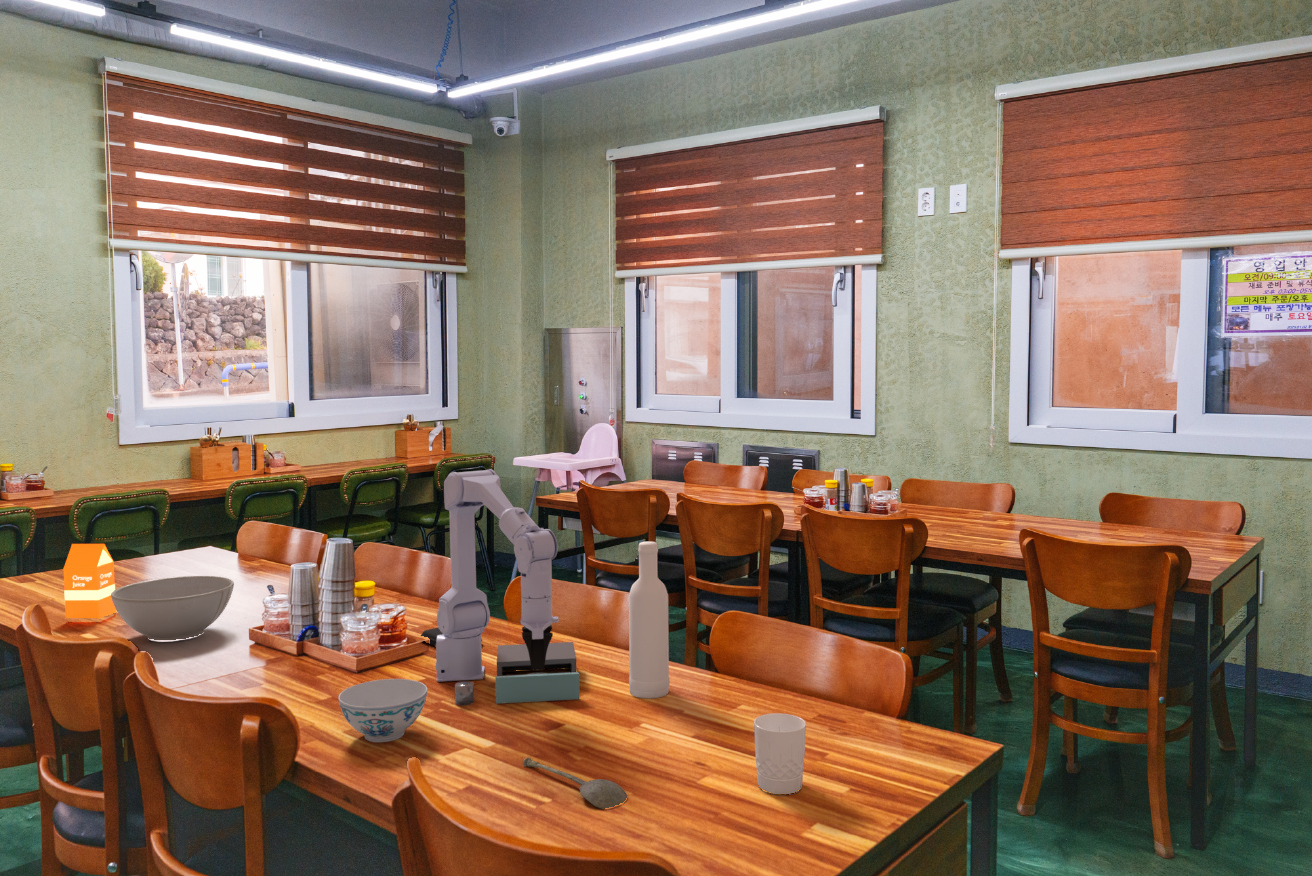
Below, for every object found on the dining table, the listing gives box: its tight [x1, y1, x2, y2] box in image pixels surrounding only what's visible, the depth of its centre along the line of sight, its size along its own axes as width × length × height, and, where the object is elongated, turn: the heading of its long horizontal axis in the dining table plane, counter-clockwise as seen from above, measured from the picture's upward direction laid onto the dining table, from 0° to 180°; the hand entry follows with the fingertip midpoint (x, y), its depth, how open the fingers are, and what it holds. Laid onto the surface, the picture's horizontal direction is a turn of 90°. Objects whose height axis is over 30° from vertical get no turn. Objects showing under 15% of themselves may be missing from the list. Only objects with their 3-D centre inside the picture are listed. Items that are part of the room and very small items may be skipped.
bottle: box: [628, 541, 670, 699], centre depth 188 cm, size 8×8×30 cm
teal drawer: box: [494, 671, 580, 705], centre depth 190 cm, size 16×12×5 cm
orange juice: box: [63, 543, 117, 619], centre depth 250 cm, size 8×9×20 cm
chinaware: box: [338, 678, 428, 743], centre depth 167 cm, size 15×15×8 cm
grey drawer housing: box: [496, 641, 578, 676], centre depth 199 cm, size 16×12×6 cm
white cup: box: [753, 712, 807, 795], centre depth 145 cm, size 8×8×10 cm
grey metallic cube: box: [454, 681, 475, 706], centre depth 184 cm, size 4×4×4 cm
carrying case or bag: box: [420, 626, 483, 648], centre depth 225 cm, size 11×3×15 cm
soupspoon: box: [522, 757, 628, 810], centre depth 147 cm, size 22×3×7 cm
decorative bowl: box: [111, 575, 235, 640], centre depth 233 cm, size 27×27×12 cm
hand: (537, 666), depth 179 cm, fingers open, 2 cm apart
